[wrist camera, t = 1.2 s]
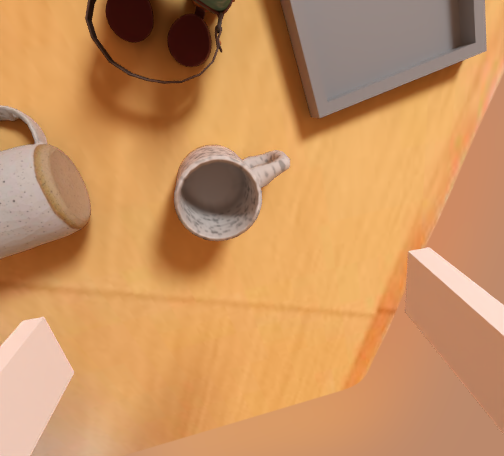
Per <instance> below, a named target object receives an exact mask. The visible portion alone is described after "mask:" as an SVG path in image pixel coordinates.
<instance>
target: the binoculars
mask: <svg viewBox="0 0 504 456" xmlns="http://www.w3.org/2000/svg"><path fill="white" fill-rule="evenodd" d="M234 1H235V0H193V3H194V5H195V6H196V11H195V14H186V15H184V16H181V17H180V18H179V19H177V20H176V21H175V22H174V23H173V25H172V26H171V28H170V30H169V33H168V47H169V50H170V53H171V55H172V56H173V57H174V59H175V60H176V61H177V62H178V63H180V64H182V65H184V66H189V67H193V66H199V65H201V64H203V63H204V62H205V61H206V60H207V58H208V57H209V55H210V52H211V35H210V32H209V29H208V27H207V25H206V23H205V22H204V20H203V19H204V16H205V12H209V11H210V12H212V13H214V14H216V15H217V16H218V24H217V26H216V27H215V39H216V45H217V49H216V52H215V55H214V57H213V60H212V62H211V63H210V64H209V65H208V66H207V67H206V68H205V69H204V70H203V71H202V72H201V73H199V74H197V75H194V76H192V77H190V78H187V79H185V80H182V81H160V80H154V79H149V78H145V77H142V76H139V75H136V74H133V73H131V72H130V71H128V70H127V69H125V68H123V67H122V66H120V65H119V64H117V63H116V62H114V61H113V60H112V58H111V57H110V56H109V54H108V53H107V51H106V50H105V49H104V47H103V46H102V44H101V43H100V42H99V40H98V39H97V36H96V33H95V30H94V26H93V23H92V16H93V10H94V4H95V2H96V0H88V4H87V11H86V17H85V19H86V23H87V26H88V29H89V32H90V35H91V38H92V39H93V41H94V42H95V44H96V45H97V46H98V48H99V49H100V50H101V52H102V53H103V55H104V56H105V57H106V59H107V60H108V61H109V62H110V63H111V64H113V65H114V66H116V67H117V68H119V69H120V70H122V71H124V72H125V73H127V74H128V75H130V76H134V77H137V78H140V79H143V80H146V81H151V82H158V83H182V82H185V81H187V80H189V79H192V78H194V77H197V76H199V75H201V74H202V73H203V72H204V71H205V70H206V69H207V68H208V67H209V66H210V65H211V64H212V63H213V62H214V60H215V57H216V54H217V52H218V49H220V51H221V53H222V49H221V46H220V45H221V42H220V41H219V38H220V35H221V31H222V27H221V24H222V19H223V16H224V14H225V13H226V12H227V11H228V9H229V8H230V6H231V4H232V2H234ZM106 17H107V20H108V23H109V25H110V27H111V29H112V30H113V31H114V32H115V34H116V35H118V36H119V37H120V38H122V39H123V40H125V41H129V42H140V41H142V40H144V39H145V38H146V37H147V36H148V35H149V34H150V32H151V30H152V28H153V12H152V8H151V5H150V2H149V0H108V1H107V4H106ZM217 33H219V35H218V38H217Z"/></svg>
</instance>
